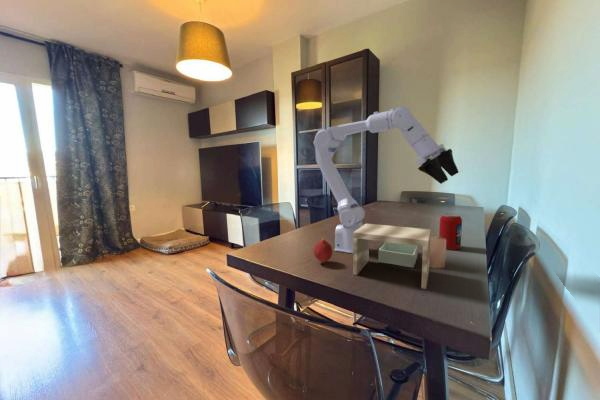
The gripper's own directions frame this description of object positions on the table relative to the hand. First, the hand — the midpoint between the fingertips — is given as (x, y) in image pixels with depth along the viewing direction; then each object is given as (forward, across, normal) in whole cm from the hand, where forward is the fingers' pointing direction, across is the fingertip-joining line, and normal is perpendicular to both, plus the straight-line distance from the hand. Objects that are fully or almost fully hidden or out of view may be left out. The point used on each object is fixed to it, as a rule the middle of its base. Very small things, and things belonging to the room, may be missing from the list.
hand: (450, 178), depth 71 cm
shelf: (+13, -23, +18) cm, 32 cm away
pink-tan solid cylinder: (+19, -8, +16) cm, 26 cm away
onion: (+2, -32, +32) cm, 45 cm away
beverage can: (+21, +11, +21) cm, 32 cm away
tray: (+13, -10, +23) cm, 29 cm away
